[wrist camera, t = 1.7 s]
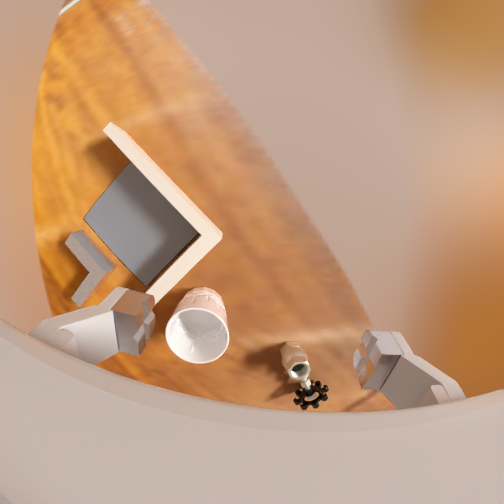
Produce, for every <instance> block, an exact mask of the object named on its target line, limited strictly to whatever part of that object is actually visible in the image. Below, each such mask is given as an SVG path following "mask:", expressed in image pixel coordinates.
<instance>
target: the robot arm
mask: <svg viewBox="0 0 504 504" xmlns="http://www.w3.org/2000/svg"><path fill="white" fill-rule="evenodd" d="M154 306H155V298H154V296H153V295H150V294H146V293H142V292H139V291H135V290H131V289H128V288H123V287H116V288H115V289H114V290H113V291H112V292H111V293H110V294H109V295H108V296H107V297H106V298H105V299H104V300H103V301H102V302H101V303H100V304H99V305H98V306H96V305H92V306H89V307H86V308H82V309H79V310H75V311H72V312H68V313H65V314H62V315H58V316H55V317H51V318H48V319H44V320H43V321H42V322H41V323H40V324H39V325H38V326H37V327H36V328H35V329H33V331H32V332H31V333H29V334H26V333H25V332H23V331H21V330H19V329H17V328H16V327H14V326H12V325H11V324H9V323H7V322H5V321H4V320H2V319H1V318H0V504H504V388H503V389H500V390H497V391H493V392H490V393H487V394H483V395H479V396H475V397H471V398H466V397H465V395H464V393H463V392H462V390H461V388H460V387H459V385H458V384H457V382H456V381H455V380H453V379H451V378H450V377H449V376H447V375H446V374H444V373H442V372H441V371H440V370H438V369H437V368H435V367H434V366H432V365H431V364H429V363H428V362H426V361H425V360H423V359H422V358H420V357H419V356H417V355H414V354H413V352H412V351H411V349H410V347H409V346H408V344H407V342H406V341H405V339H404V338H403V336H402V335H401V333H400V332H398V331H373V330H366V331H365V332H364V334H363V336H362V338H361V339H362V342H363V343H362V344H361V345H360V346H358V347H357V349H356V351H355V354H354V360H353V361H354V367H355V370H356V371H358V372H359V373H360V374H359V376H358V379H359V382H360V385H361V389H375V390H380V391H381V392H382V393H383V394H384V395H385V396H386V397H387V398H388V400H389V401H390V402H391V403H392V404H393V405H394V406H395V407H396V408H397V409H396V410H384V411H366V412H314V411H296V410H283V409H273V408H264V407H256V406H248V405H241V404H235V403H229V402H223V401H217V400H212V399H207V398H202V397H197V396H193V395H188V394H184V393H180V392H176V391H172V390H168V389H164V388H160V387H157V386H153V385H150V384H146V383H143V382H140V381H137V380H133V379H130V378H127V377H124V376H121V375H119V374H116V373H113V372H110V371H108V370H105V369H102V368H100V367H97V366H95V365H96V364H98V363H100V362H102V361H104V360H105V359H107V358H109V357H111V356H112V355H114V354H116V353H118V352H119V351H121V352H125V353H128V354H132V355H136V356H140V354H141V353H142V351H143V349H144V348H145V346H146V342H145V340H147V339H149V338H150V337H151V335H152V334H153V331H154V327H155V314H154V313H153V311H152V309H153V308H154Z"/></svg>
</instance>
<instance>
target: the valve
mask: <svg viewBox="0 0 504 504" xmlns="http://www.w3.org/2000/svg"><path fill="white" fill-rule="evenodd" d="M280 352H281V355H282V359H281V361H282V365H283V366H284V368H285V369H286V370H287V371H288V373H289V375H290V377H291V379H295V380H299V382H300V384H301V386H302V388H303V391H300V390H296V391H295V393H296V395H297V396H298V397H299V399H296V398H295V399H294V400H293V401H294V403H295V404H296V405H299V404H300V403H302V404H300V407H301V409H302V410H306V409H307V408H308V406H309V405H312V406H313V408H318V407H319V404H318V402H319V401H320V400H322V401H326V400H327V399H328V397H327V394H326V393H325V394H324V392H328V390H329V389H328V386H327V385H323V386H324V387H323V388H321V383H320V381H316V382H315V386H313V385H311V382H310V380H309V378H308V376H309V374H310V371H311V369H310V366H309V364H308V362H307V360H308V359H307V354H306V352H305V351H304V350H303V349H301V348H300V346H299V344H298V342H296V341H286V342H285V344H284V345H283V346H282V347H281V348H280ZM315 392H318V393H319V396H318V397H317V398H316V399H315V400H312V401H305V399H304V398H305V396H306V397H307V398H308V399H313V398H314V397H315V396H316V394H315ZM323 394H324V395H323Z"/></svg>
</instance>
